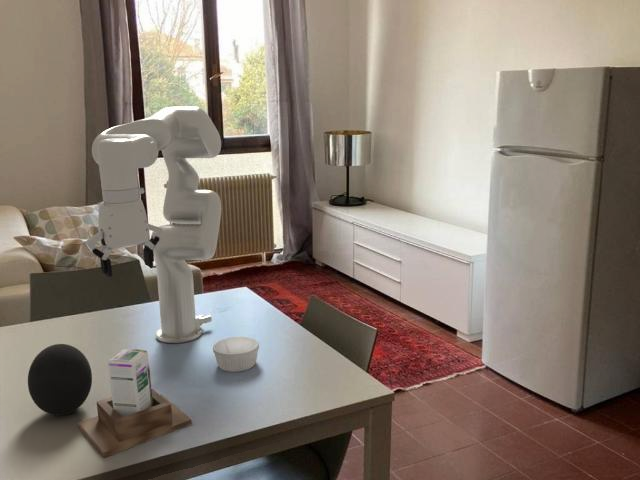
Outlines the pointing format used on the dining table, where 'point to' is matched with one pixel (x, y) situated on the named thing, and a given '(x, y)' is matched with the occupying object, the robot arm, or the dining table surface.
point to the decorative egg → (59, 379)
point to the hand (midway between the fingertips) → (129, 270)
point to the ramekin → (236, 353)
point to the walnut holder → (132, 424)
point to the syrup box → (130, 381)
